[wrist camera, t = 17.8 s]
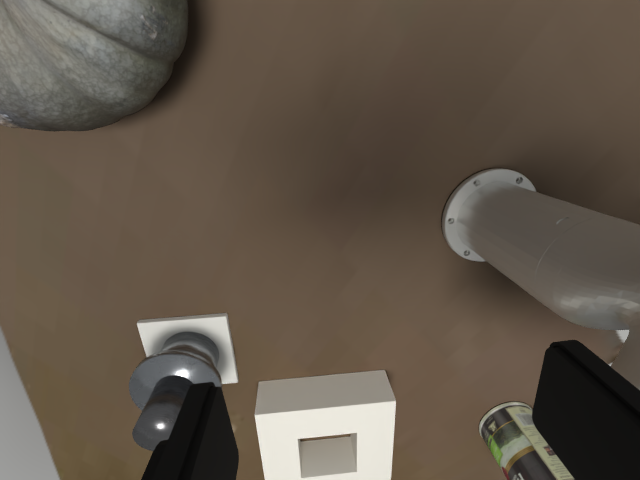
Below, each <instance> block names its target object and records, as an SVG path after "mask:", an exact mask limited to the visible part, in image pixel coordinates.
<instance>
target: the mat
mask: <svg viewBox="0 0 640 480" xmlns="http://www.w3.org/2000/svg"><path fill="white" fill-rule="evenodd" d="M137 326H138V329H139V333H140V336H141V339H142V343H143V346H144V349H145V353H146V356H147V357H148V356H150V355H152V354H155V353H157V352H160V350H161V348H162V347H163V345H164V343H165V342H166V340H167V339H168V338H170V337H171V336H173V335H175V334H177V333H181V332H196V333H200V334H203V335H205V336H207V337H208V338H210V339H211V340H212V341H213V342H214V343H215V344H216V346H217V348H218V350H219V361H218V364H217V367H216V369H217V370H218V372H219V374H220V376H221V379H222V384H226V383H237V382H238V379H239V378H238V372H237V367H236V361H235V355H234V349H233V344H232V338H231V332H230V326H229V321H228V315H227V313H220V314H208V315H195V316H183V317H170V318H158V319H145V320H139V321H138V322H137Z"/></svg>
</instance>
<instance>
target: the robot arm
mask: <svg viewBox="0 0 640 480" xmlns="http://www.w3.org/2000/svg"><path fill="white" fill-rule="evenodd" d="M474 181H475V182H474ZM449 218H450V219H449ZM448 219H449V220H448ZM442 231H443V235H444V238H445V240H446V242H447V244H448V245H449V246H450V247H451V249H452V250H453V251H455V252H456V253H457V254H458V255H460V256H461V257H463V258H465V259H468V260H471V261H479V262H482V261H487V262H488V263H489V264H491V265H492V266H493V267H495V268H496V269H497V270H499V271H500V272H501V273H503V274H504V275H505V276H507V277H508V278H509V279H510V280H512V281H513V282H514V283H516V284H517V285H518V286H520V287H521V288H522V289H524V290H525V291H526V292H528V293H529V294H530V295H532V296H533V297H534V298H535V299H537V300H538V301H539V302H541V303H542V304H543V305H545V306H546V307H548V308H549V309H550V310H552V311H553V312H554V313H556V314H557V315H559V316H560V317H562V318H563V319H565V320H567V321H569V322H572V323H574V324H577V325H580V326H584V327H588V328H595V329H604V330H629V335H628V337H627V339H626V341H625V343H624V344H623V346H622V348H621V349H620V351H619V355H618V356H617V358H616V359H615V361H614V362H613V364H612V365H611V367H610V366H609V365H608V364H607V363H605V362H604V361H603V360H602V359H600V358H599V357H598V356H597V355H595V354H594V353H593V352H592V351H590V350H589V349H588V348H587V347H585V346H584V345H583V344H582V343H580V342H579V341H576V340H568V341H560V342H553V343H552V344H551V345H550V347H549V348H548V349H547V350H546V352H545V356H544V361H543V365H542V370H541V375H540V379H539V384H538V389H537V393H536V398H535V403H534V407H533V412H532V420H533V423H534V425H535V427H536V429H537V430H538V432H539V433H540V434H541V436H542V437H543V438H544V440H545V441H546V442H547V443H548V445H549V446H550V447H551V449H552V450H553V451H554V453H555V454H556V455H557V457H558V458H559V459H560V461H561V462H562V463H563V465H564V466H565V467H566V469H567V470H568V471H569V473H570V474H571V475H572V476H573V478H574V479H575V480H640V225H639V224H635V223H632V222H629V221H626V220H623V219H620V218H616V217H612V216H609V215H606V214H603V213H600V212H597V211H594V210H590V209H587V208H584V207H581V206H578V205H575V204H572V203H569V202H566V201H562V200H559V199H556V198H553V197H550V196H547V195H544V194H541V193H538V192H536V189H535V187H534V186H533V184H532V183H531V181H530V180H529V179H528V178H526V177H525V176H524V175H522V174H520V173H518V172H516V171H513V170H509V169H503V168H494V169H488V170H484V171H481V172H479V173H476V174H474V175H472V176H471V177H469V178H468V179H466V180H465V181H464V182H462V183H461V184H460V185H459V186H458V187H457V188H456V190H455V191H454V192H453V193H452V195H451V196H450V198H449V200H448V202H447V203H446V206H445V209H444V212H443V217H442ZM238 460H239V455H238V449H237V445H236V441H235V437H234V434H233V430H232V426H231V422H230V419H229V415H228V411H227V407H226V404H225V400H224V396H223V392H222V389H221V387H220V386H219V387H215V384H214V383H213V382H205V383H197V384H192V385H191V386H190V387H189V389H188V392H187V394H186V397H185V399H184V402H183V404H182V407H181V409H180V412H179V414H178V417H177V419H176V422H175V424H174V426H173V429H172V431H171V434H170V436H169V439H168V440H163V441H160V442H159V443H158V445H157V446H156V448H155V449H154V451H153V453H152V456H151V458H150V460H149V463H148V465H147V467H146V470H145V472H144V474H143V477H142V479H141V480H236V475H237V469H238Z"/></svg>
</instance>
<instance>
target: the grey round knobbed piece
mask: <svg viewBox="0 0 640 480" xmlns="http://www.w3.org/2000/svg"><path fill="white" fill-rule="evenodd" d="M218 361H219V350H218V348H217V346H216V344H215V343H214V342H213V341H212V340H211V339H210V338H208V337H207V336H205V335H203V334H200V333H196V332H181V333H177V334H175V335H173V336H171V337H170V338H168V339H167V340H166V342H165V343H164V345H163V347H162V348H161V350H160V352H157V353H155V354H152V355H150V356H148V357H147V358H145V359H144V360H143V361H142V362H140V363H139V365H138V366H137V367H136V369H135V371H134V372H133V374H132V376H131V378H130V382H129V391H130V395H131V397H132V400H133V401H134V403H135V404H136V405H137V406H138V407H139V408H140V409H141V410H142V413H141V415H140V417H139V419H138V421H137V423H136V425H135V427H134V429H133V433H132V435H133V439H134V440H135V442H136V443H137V444H138V445H139V446H141V447H143V448H145V449H147V450H151V451H154V449H155V448H156V446H157V445H158V443H159V442H160V441H163V440H168V439H169V436H170V434H171V431H172V429H173V426H174V424H175V422H176V419H177V417H178V414H179V412H180V409H181V407H182V404H183V402H184V399H185V397H186V394H187V392H188V389H189V387H190V386H191V385H192V384H197V383H205V382H213V383H214V384H215V387H219V386H220V387H221V389H222V379H221V376H220V374H219V372H218V370H217V369H216V367H217V364H218Z"/></svg>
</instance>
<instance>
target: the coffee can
mask: <svg viewBox="0 0 640 480" xmlns="http://www.w3.org/2000/svg"><path fill="white" fill-rule="evenodd" d="M532 412H533V410H532V409H531V408H530V407H529V406H528V405H527V404H525V403H521V402H508V403H504V404H501V405H498V406H496V407H494V408H493V409H491V410H490V411H489V412H487V413H486V414H485V415H484V417H483V418H482V420H481V422H480V424H479V432H480V435H481V436H482V437H483V439H484V441H485V442H486V444H487V446H488V447H489V449H490V451H491V452H492V454H493V456H494V457H495V459H496V461H497V463H498V464H499V466H500V468H501V469H502V471H503V473H504V474H505V476H506V478H507V480H575V479H574V478H573V476H572V475H571V474H570V473H569V471H568V470H567V469H566V467H565V466H564V465H563V463H562V462H561V461H560V459H559V458H558V457H557V455H556V454H555V453H554V451H553V450H552V449H551V447H550V446H549V445H548V443H547V442H546V441H545V440H544V438H543V437H542V436H541V434H540V433H539V432H538V430H537V429H536V427H535V425H534V423H533V420H532Z"/></svg>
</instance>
